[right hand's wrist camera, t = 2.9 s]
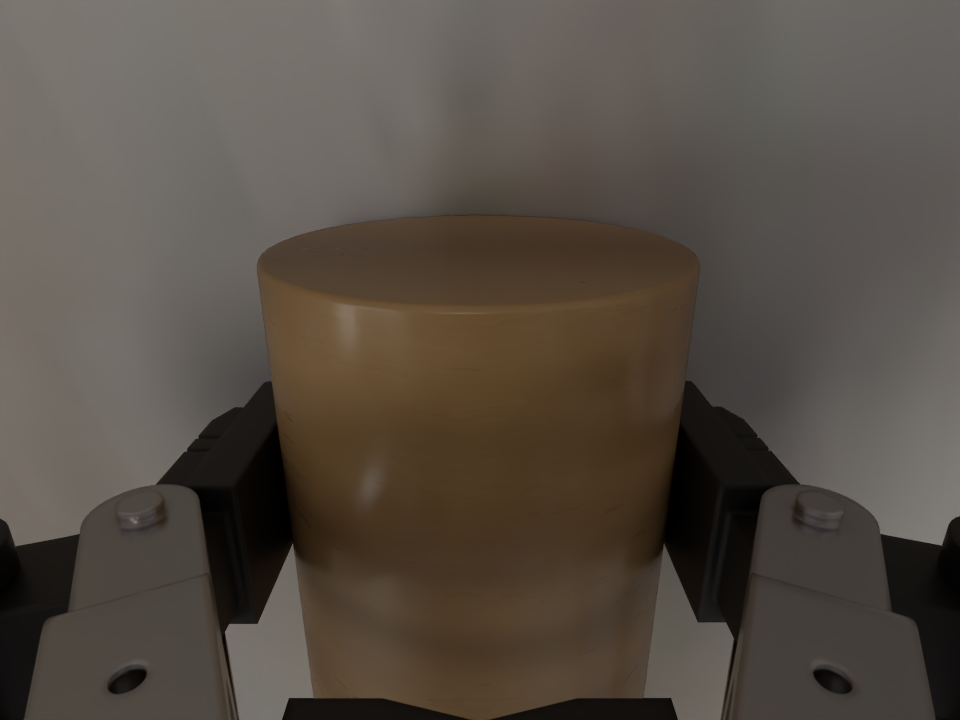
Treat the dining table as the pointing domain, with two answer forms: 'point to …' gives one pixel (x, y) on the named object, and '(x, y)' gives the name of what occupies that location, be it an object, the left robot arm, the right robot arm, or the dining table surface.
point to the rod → (478, 452)
